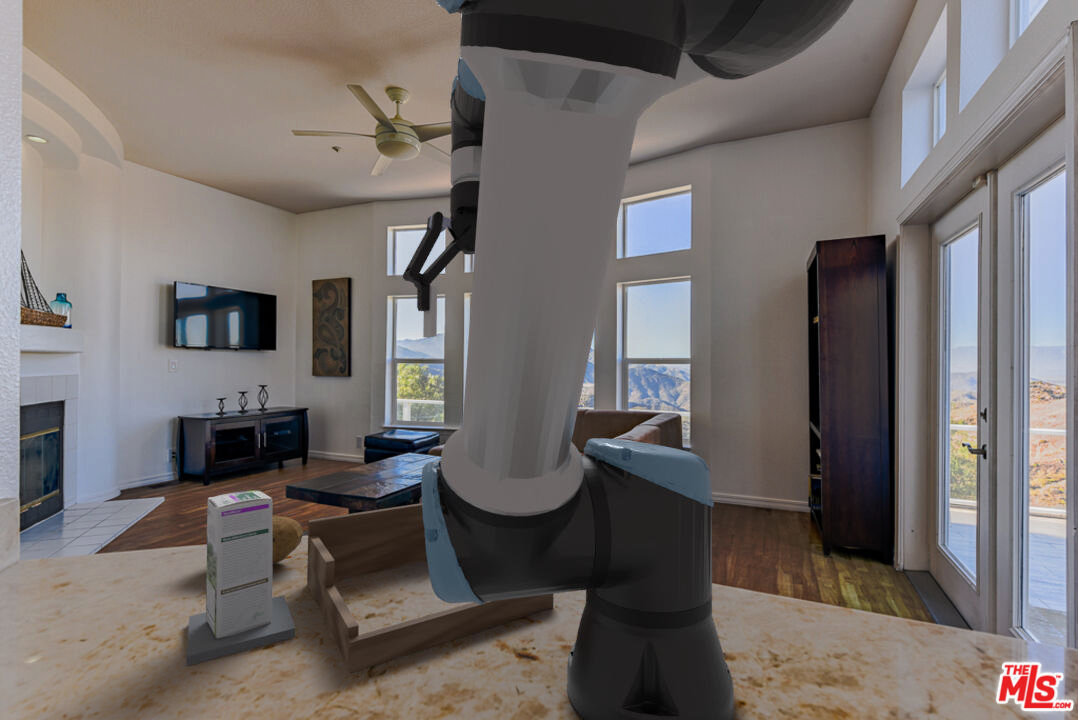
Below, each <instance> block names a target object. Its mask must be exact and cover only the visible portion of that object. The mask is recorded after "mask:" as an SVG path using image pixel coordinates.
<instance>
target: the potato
mask: <svg viewBox="0 0 1078 720" xmlns="http://www.w3.org/2000/svg"><path fill="white" fill-rule="evenodd" d="M303 529H304V528H303V526H302V525H301V524H300V522H298V521H297V520H295V519H293V518H290V517H289V516H288V517H287V516H280V515H279V516H277V515H272V565H273V564H278V563H280V562H282V561H284V560H285V559H286V558H287V557H288V556H289V555H290V554H291V553H292V552H294V550H296V548H298V546H300V544H301V543H302V539H303V535H304V530H303ZM204 535H205V536H204V537H205V543H206V546H207V530H206V532H205V534H204Z"/></svg>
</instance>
